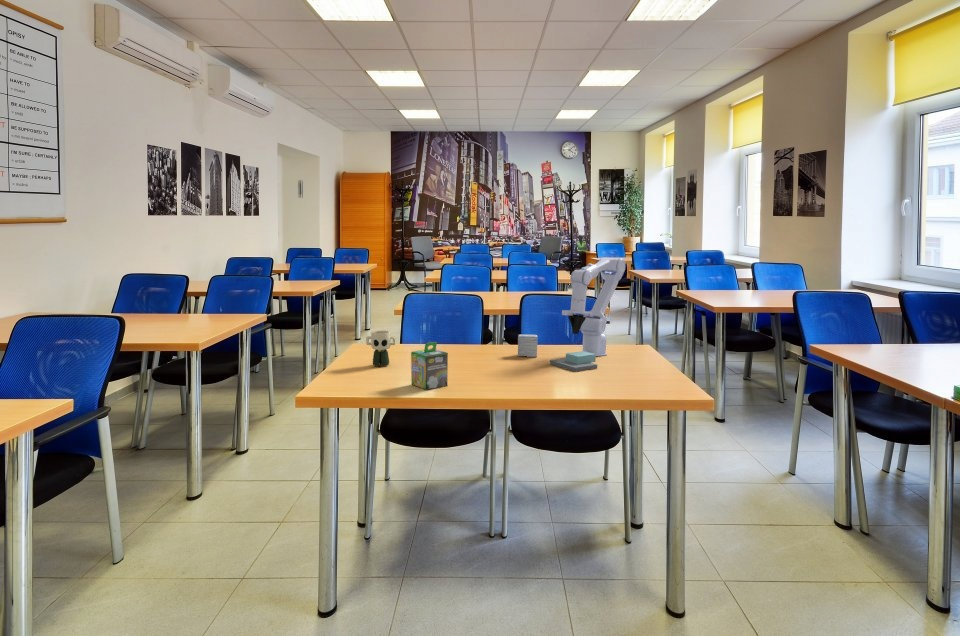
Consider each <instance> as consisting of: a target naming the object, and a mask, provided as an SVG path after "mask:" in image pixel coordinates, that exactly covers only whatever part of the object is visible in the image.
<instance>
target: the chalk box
mask: <svg viewBox="0 0 960 636" xmlns="http://www.w3.org/2000/svg"><path fill="white" fill-rule="evenodd" d="M437 343H438V342H437V341H431V342H426V343H425V345H424V349H420V350H419V349H418V350H414V351H411V352H410V356H411V357H410V360H411V361H410V366H411V367H410V368H411V369H410V370H411V371H410V372H411V377H410V378H411V385H412V386H414V387H415V386H416V387H418V388H419V389H424V390H426V391H427V390H432V389H437V388H443V387H442V386H444V387H448V378H449V377H448V372H449V371H448V369H449V365H448V359H449V358H448V357H449V355H448V354H449V352H446V351H443V350H440V349H437ZM431 346H432V348H429V347H431Z"/></svg>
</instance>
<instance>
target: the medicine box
mask: <svg viewBox="0 0 960 636" xmlns="http://www.w3.org/2000/svg"><path fill="white" fill-rule="evenodd" d="M518 356H527V357H526V358H538V335H537V334H518V336H517V357H518Z"/></svg>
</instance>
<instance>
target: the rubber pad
mask: <svg viewBox="0 0 960 636" xmlns="http://www.w3.org/2000/svg"><path fill="white" fill-rule="evenodd" d="M549 365H552V366H556V367H559V368H561V369H565V370H567V371H572V372H574V371H575V373H576V371H577V372H583V371H589V369H590V370H596V369H595V368H597V369H598V364H597V363H594V362H591V363H584V364H575V363H571V362H568V361H566V357H564V358H557V359H550V360H549ZM582 370H583V371H582Z"/></svg>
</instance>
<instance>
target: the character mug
mask: <svg viewBox="0 0 960 636" xmlns="http://www.w3.org/2000/svg"><path fill="white" fill-rule="evenodd" d="M370 340H371V342H370ZM391 340H392V342H391ZM365 344H366V345H367V346H371V348H372V349H373V350H374V351H373V356H372V365H373V366H375V367H379V366H380V365H381V367H385V366H386V367H387V366H389V365H390V358H389V351H388V349H390V348H391V346H395V345H396V337H395V336H391V331H389V330H384V329H383V330H374V331H371V336H366V337H365Z"/></svg>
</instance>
